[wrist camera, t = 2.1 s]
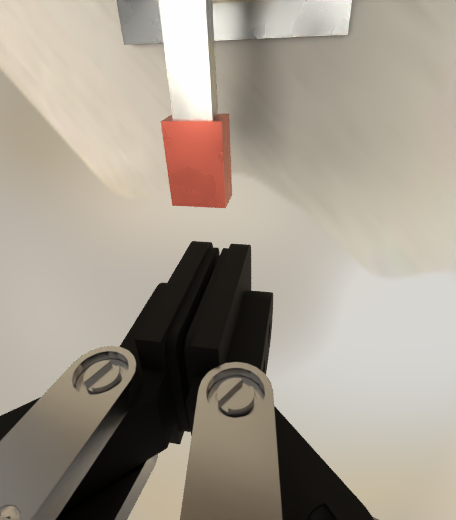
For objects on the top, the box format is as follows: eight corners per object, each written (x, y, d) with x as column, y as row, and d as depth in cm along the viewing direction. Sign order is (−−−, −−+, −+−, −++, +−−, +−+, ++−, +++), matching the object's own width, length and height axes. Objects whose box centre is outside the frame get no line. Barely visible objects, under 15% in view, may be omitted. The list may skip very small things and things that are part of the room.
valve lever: (141, -154, 13) (120, -177, 12) (218, -166, 13) (206, -192, 11) (182, 193, 21) (172, 205, 19) (231, 195, 20) (225, 207, 19)
